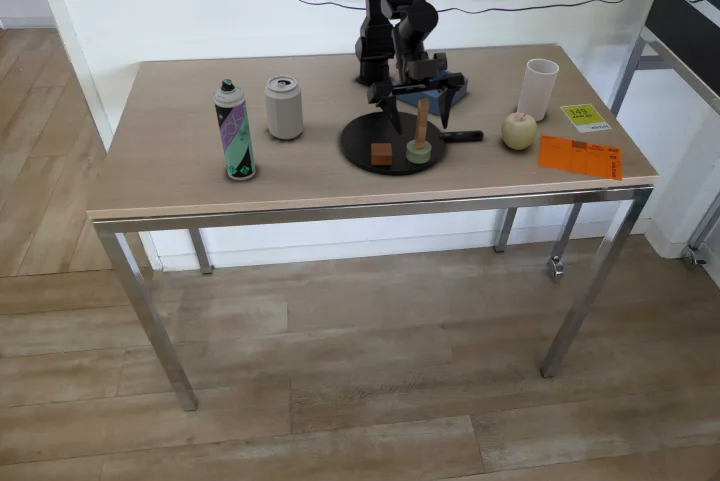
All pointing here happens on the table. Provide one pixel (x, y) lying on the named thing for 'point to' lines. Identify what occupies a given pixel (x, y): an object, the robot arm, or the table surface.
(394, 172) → the griddle pan
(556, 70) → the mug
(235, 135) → the spray can
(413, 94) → the bin
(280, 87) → the can
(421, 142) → the dish brush
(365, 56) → the robot arm
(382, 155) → the reddish brown square block
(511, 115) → the fruit
